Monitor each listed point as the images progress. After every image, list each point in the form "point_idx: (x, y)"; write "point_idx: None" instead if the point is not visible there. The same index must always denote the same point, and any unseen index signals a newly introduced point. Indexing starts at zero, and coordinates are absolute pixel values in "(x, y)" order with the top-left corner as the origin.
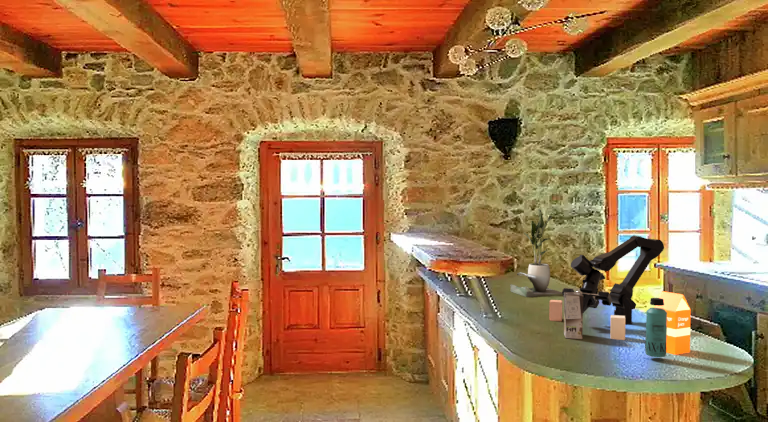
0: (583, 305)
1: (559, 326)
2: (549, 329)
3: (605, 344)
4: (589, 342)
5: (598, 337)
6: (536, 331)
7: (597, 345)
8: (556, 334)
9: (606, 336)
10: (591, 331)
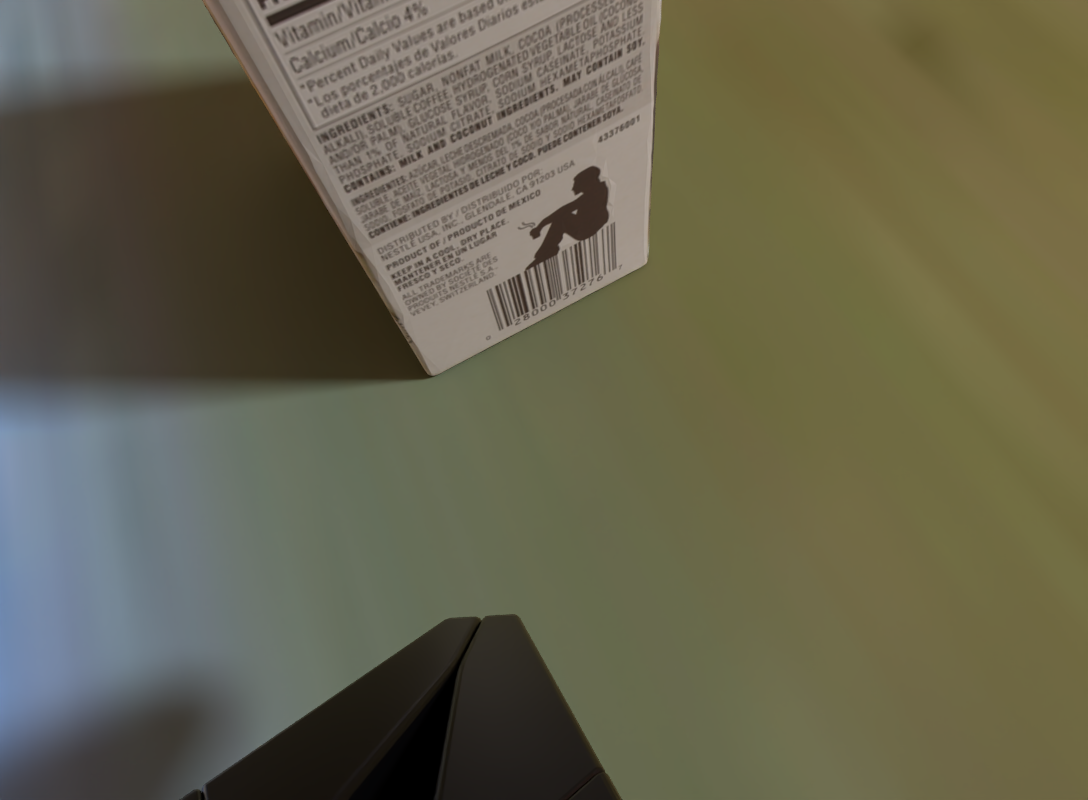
0: (313, 748)
1: (1066, 721)
2: (989, 335)
3: (12, 107)
4: (187, 71)
5: (137, 354)
6: (1016, 101)
7: (86, 26)
8: (688, 136)
9: (37, 494)
10: None
